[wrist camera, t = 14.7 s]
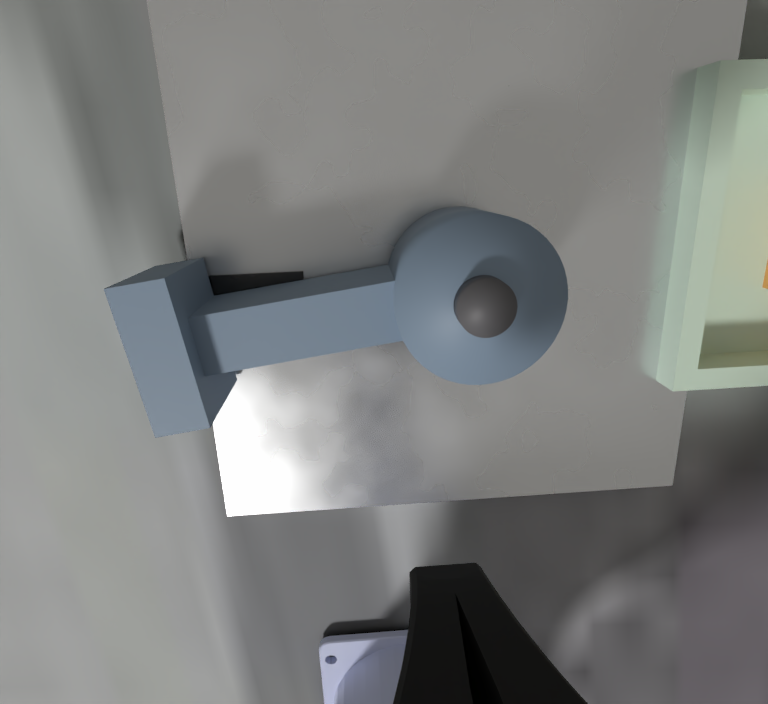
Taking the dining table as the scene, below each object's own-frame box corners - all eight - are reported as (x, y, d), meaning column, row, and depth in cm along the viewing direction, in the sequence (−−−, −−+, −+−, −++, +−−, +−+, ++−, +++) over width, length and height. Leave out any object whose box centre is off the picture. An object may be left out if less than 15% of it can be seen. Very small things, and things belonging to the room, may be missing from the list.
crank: (518, 194, 17) (572, 199, 13) (530, 332, 19) (581, 376, 15) (153, 260, 17) (90, 286, 13) (194, 392, 19) (149, 454, 15)
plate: (661, 475, 22) (674, 486, 21) (231, 504, 21) (226, 517, 21) (734, -25, 17) (754, -36, 16) (153, -11, 16) (142, -21, 15)
